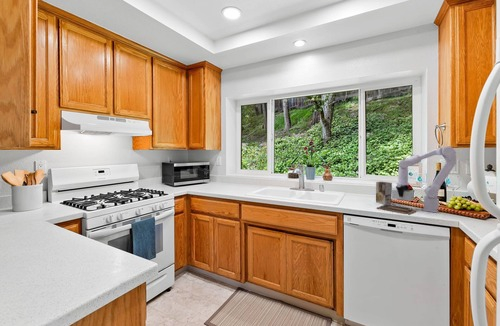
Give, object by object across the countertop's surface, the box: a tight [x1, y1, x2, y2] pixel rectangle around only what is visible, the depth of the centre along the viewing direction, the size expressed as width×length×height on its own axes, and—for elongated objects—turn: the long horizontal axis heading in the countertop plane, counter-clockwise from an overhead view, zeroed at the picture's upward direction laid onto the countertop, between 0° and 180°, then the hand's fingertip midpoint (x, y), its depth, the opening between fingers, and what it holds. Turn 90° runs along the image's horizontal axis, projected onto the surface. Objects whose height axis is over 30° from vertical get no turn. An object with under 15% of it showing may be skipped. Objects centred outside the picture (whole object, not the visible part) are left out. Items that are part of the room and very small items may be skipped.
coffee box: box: [375, 181, 393, 205], centre depth 185 cm, size 9×6×16 cm
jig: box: [376, 204, 417, 215], centre depth 164 cm, size 13×20×2 cm, turn 37°
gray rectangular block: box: [391, 188, 415, 201], centre depth 170 cm, size 5×12×7 cm, turn 37°
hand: (402, 196), depth 170 cm, fingers closed on gray rectangular block, 5 cm apart
